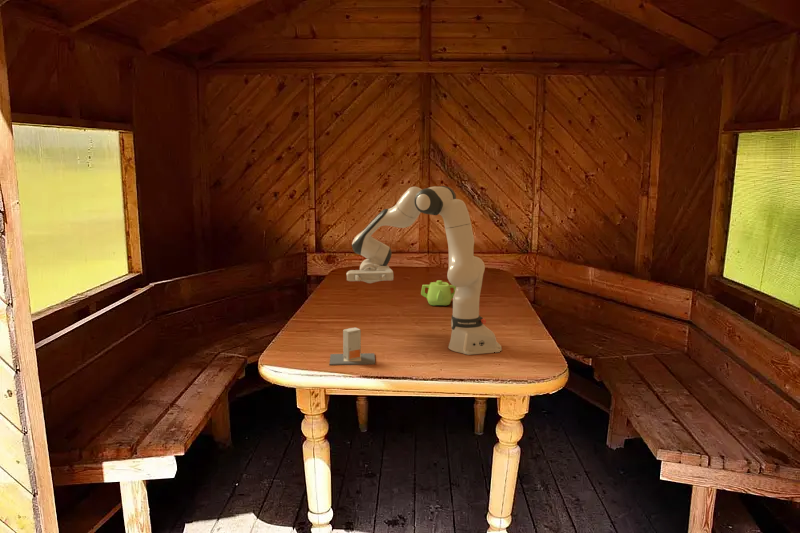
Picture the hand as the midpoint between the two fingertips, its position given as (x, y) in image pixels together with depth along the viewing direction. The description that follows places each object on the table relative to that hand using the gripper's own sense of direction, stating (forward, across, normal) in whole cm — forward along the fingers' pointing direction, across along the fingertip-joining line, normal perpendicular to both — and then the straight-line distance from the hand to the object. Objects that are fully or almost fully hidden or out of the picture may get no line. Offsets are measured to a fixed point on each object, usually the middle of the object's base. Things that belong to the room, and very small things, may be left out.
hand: (370, 279), depth 271 cm
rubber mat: (+17, -8, +30) cm, 35 cm away
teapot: (-72, +39, +30) cm, 87 cm away
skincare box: (+17, -8, +29) cm, 35 cm away
